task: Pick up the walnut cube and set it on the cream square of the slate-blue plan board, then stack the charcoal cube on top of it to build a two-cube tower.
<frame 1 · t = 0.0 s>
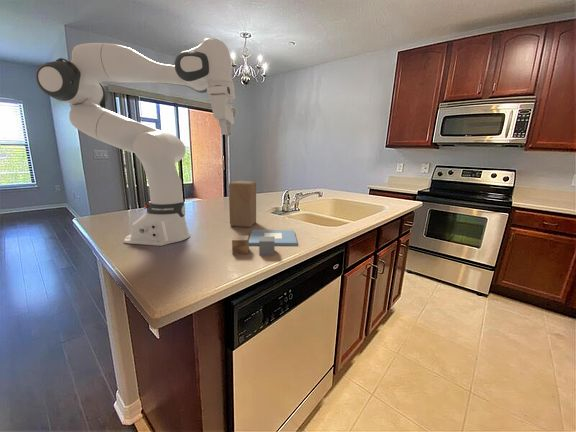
hand: (227, 135, 91), 39 cm above the worktop, tool pointing down, fingers open, 8 cm apart
block: (243, 224, 120), on the worktop
walnut cube: (240, 251, 87), on the worktop
plan board: (272, 238, 101), on the worktop
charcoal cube: (267, 252, 87), on the worktop
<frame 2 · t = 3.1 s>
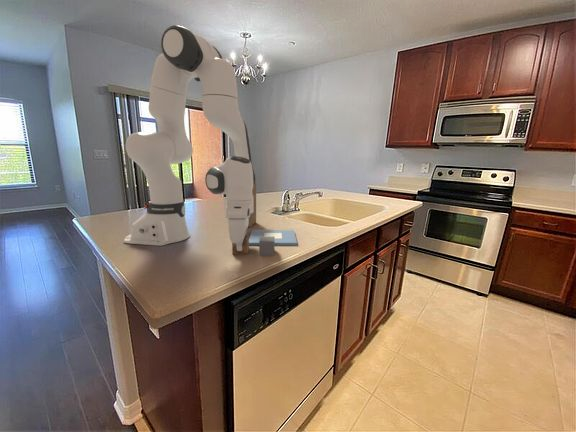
hand: (240, 246, 87), 2 cm above the worktop, tool pointing down, fingers closed on walnut cube, 5 cm apart
walnut cube: (240, 251, 87), on the worktop, touching gripper
everything else where it was.
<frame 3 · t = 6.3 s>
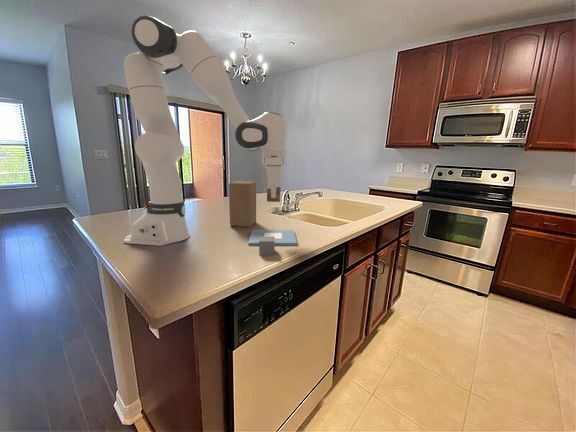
hand: (273, 196, 97), 17 cm above the worktop, tool pointing down, fingers closed on walnut cube, 5 cm apart
walnut cube: (273, 200, 98), point 15 cm above the worktop, touching gripper
everything else where it was.
when the fingers open (4 cm above the worktop, at t = 9.0 s): walnut cube drops 1 cm, resting on plan board.
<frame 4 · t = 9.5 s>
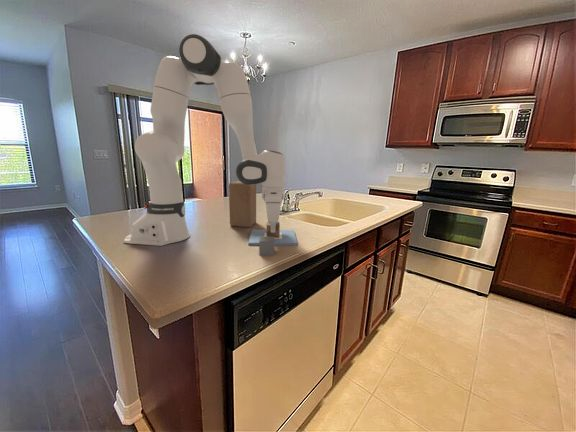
hand: (272, 228, 100), 4 cm above the worktop, tool pointing down, fingers open, 8 cm apart
walnut cube: (273, 235, 101), point 1 cm above the worktop, touching plan board
everything else where it was.
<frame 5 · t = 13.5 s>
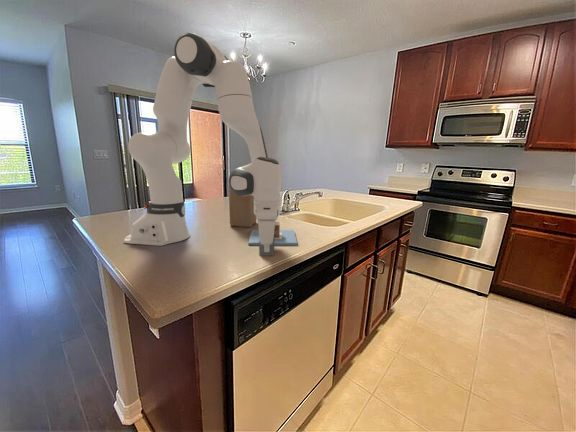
hand: (267, 247, 86), 2 cm above the worktop, tool pointing down, fingers closed on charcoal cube, 5 cm apart
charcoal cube: (267, 252, 87), on the worktop, touching gripper
everything else where it was.
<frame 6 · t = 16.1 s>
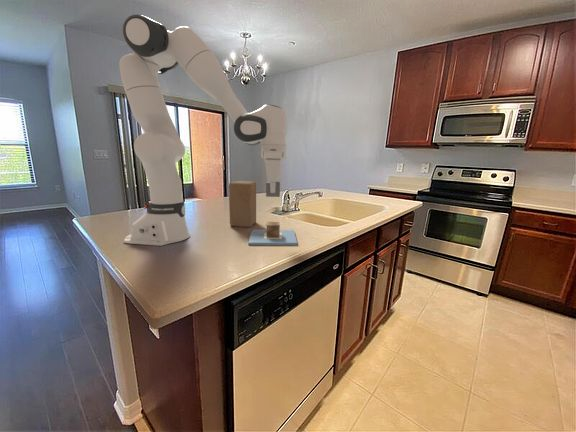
hand: (272, 191, 95), 19 cm above the worktop, tool pointing down, fingers closed on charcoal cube, 5 cm apart
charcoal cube: (273, 195, 95), point 17 cm above the worktop, touching gripper
everything else where it was.
when the fingers open (9 cm above the worktop, at t = 19.1 s): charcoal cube drops 1 cm, resting on walnut cube.
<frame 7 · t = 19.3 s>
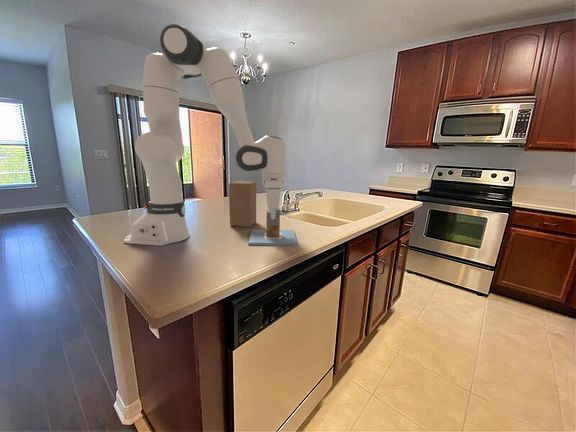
hand: (273, 216, 99), 9 cm above the worktop, tool pointing down, fingers open, 7 cm apart
walnut cube: (273, 235, 101), point 1 cm above the worktop, touching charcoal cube, plan board
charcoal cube: (273, 223, 100), point 6 cm above the worktop, touching walnut cube
everything else where it was.
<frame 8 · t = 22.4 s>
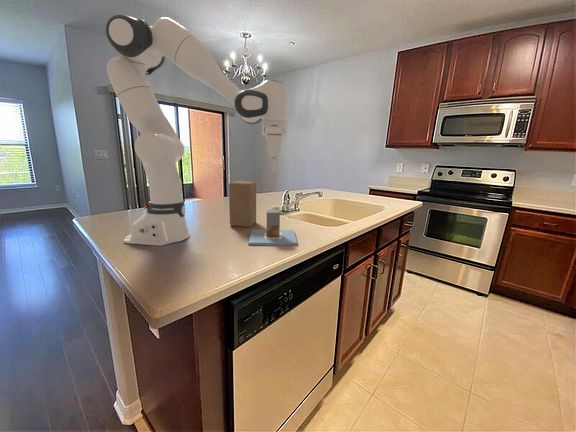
hand: (273, 169, 95), 27 cm above the worktop, tool pointing down, fingers open, 8 cm apart
nothing on the worktop moved.
at the end: walnut cube inside the target area on the plan board (0.0 cm from its centre), point 1.1 cm above the plan board's base; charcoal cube 0.0 cm off-centre on the walnut cube, point 5.0 cm above the walnut cube's base; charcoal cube tilted 0° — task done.
